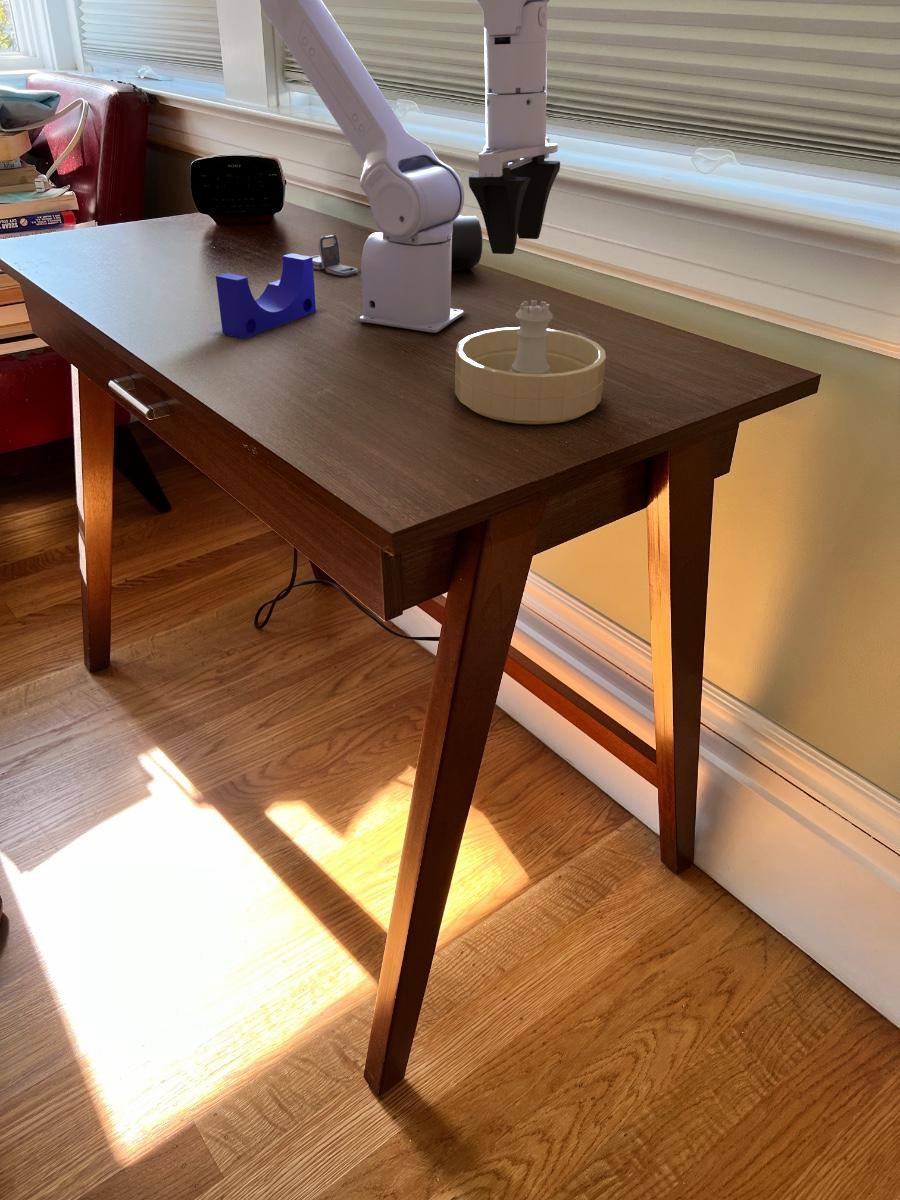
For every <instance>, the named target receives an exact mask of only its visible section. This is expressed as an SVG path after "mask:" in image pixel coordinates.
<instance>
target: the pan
mask: <svg viewBox="0 0 900 1200" xmlns="http://www.w3.org/2000/svg"><path fill="white" fill-rule="evenodd" d="M519 329H520V326H518V327H516V326H515V327H500V328H499V327H498V328H494V329H487V330H482V331H479V332H476V333H473V334H469V335H467V336H465V337H464V338H462V339H461V340H460V341H459V342H457V344H456V347H455V360H454V361H455V363H454V365H455V366H454V395H455V396H456V398H457V399H458V401H459V403H461V404H463V405H464V406H465V407H467V408H468V409H470V410H471V411H473V412H474V413H476V414H479V415H481V416H483V417H485V418H489V419H492V420H495V421H500V422H506V423H512V424H521V425H548V424H549V425H550V424H557V423H565V422H569V421H572V420H575V419H578V418H580V417H583V416H584V415H586V414H587V413H590V412H592V411H593V410H595V409H596V408H597V407H598V405H599V404H600V403H601V401H602V398H603V397H602V396H603V387H604V378H605V370H606V361H607V355H606V350H605V349H604V348H603V347H602V346H601V345H600V344H599V343H598V342H596V341H594V340H592V339H589V338H587V337H586V336H583V335H581V334H580V335H579V334H576V333H572V332H569V331H565V330H558V329H551V328H547V331H548V332H549V335H548V336H547V338H546V355H547V364H548V365H549V367H550V369H549V370H550V371H551V373H552V374H524V373H513V372H509V371H510V370H511V369H512V364H513V363H514V361H515V359H516V355H517V349H518V344H519V335H518V334H517V331H518V330H519Z"/></svg>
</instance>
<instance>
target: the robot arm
mask: <svg viewBox="0 0 900 1200" xmlns="http://www.w3.org/2000/svg"><path fill="white" fill-rule="evenodd" d="M259 1H260V5H261V7H262V10H263V11H264V14H265V15H266V17H267V19H268V20H269V22H270V24H271V25H272V27H273V28H274V29H275V31H276V33H277V34H278V35H279V37H280V39H281V40H282V42H283V43H284V44H285V46H286V48H287V50H288V51H289V52H290V54H291V55H292V56H293V58H294V60H295V61H296V63H297V64H298V67H300V69H301V70H302V72H303V74H304V75H305V77H306V78H307V79H308V81H309V83H310V84H311V86H312V87H313V89H314V90H315V92H316V93H317V95H318V96H319V97H320V99H321V101H322V102H323V104H324V106H325V107H326V108H327V110H328V112H329V114H330V115H331V117H333V118H334V121H335V122H336V123H337V125H338V127H339V128H340V130H341V131H342V133H343V134H344V136H345V137H346V139H347V140H348V142H349V144H350V145H351V146H352V148H353V149H354V151H355V152H356V155H358V157H359V158H360V160H361V162H362V163H363V169H362V173H361V176H360V181H359V186H360V188H361V190H362V191H363V192H364V194H365V196H366V198H367V200H368V203H369V206H370V211H371V215H372V219H373V221H374V222H375V225H376V227H377V228H378V229H379V230H380V232H373V233H371V234H370V235H368V237H367V239H366V240H365V241H364V244H363V248H362V251H361V252H362V253H361V261H360V267H361V268H360V269H361V270H360V271H361V299H362V315H361V316H360V317H359V321H360V322H362V323H369V324H374V325H381V326H386V327H393V328H398V329H399V328H401V329H406V330H412V331H419V332H425V333H435V334H436V333H438V332H440V331H442V330H443V329H445V328H446V327H447V326H449V325H450V324H452V323H453V322H455V321H456V320H458V319H459V318H461V317H462V316H463V315H464V313H465V311H464V310H463V309H458V308H451V306H452V271H451V261H452V238H451V237H452V232H453V221H454V220H455V219H456V218H457V217H458V216H459V215H461V212H462V211H463V208H464V204H465V190H464V185H463V182H462V180H461V178H460V176H459V174H458V173H457V172H456V171H455V170H454V169H453V168H452V167H451V166H450V165H447V164H446V163H444V162H443V161H441V160H440V158H438V156H437V155H436V154H435V153H434V151H433V149H432V147H430V146H429V145H427V144H426V143H424V142H423V141H421V140H419V139H418V138H416V137H415V136H413V135H411V134H410V133H409V132H407V130H406V128H405V127H404V125H403V124H402V122H401V121H400V119H399V117H398V116H397V115H396V113H395V111H394V110H393V108H392V107H391V106H390V104H389V102H388V100H387V99H386V98H385V96H384V94H383V93H382V91H381V90H380V88H379V86H378V85H377V84H376V82H375V80H374V79H373V78H372V75H371V74H370V73H369V71H368V69H367V68H366V67H365V65H364V63H363V62H362V60H361V59H360V57H359V56H358V54H357V52H356V51H355V50H354V47H353V46H352V45H351V43H350V41H349V40H348V39H347V37H346V36H345V33H344V32H343V31H342V29H341V27H340V26H339V24H338V23H337V21H336V19H334V17H333V15H332V13H331V12H330V11H329V10H328V7H327V5H326V4H325V3H324V2H323V0H259ZM549 1H550V0H476V2H477V4H478V5H479V7H480V9H481V11H482V16H483V30H484V31H483V32H484V33H483V34H484V35H483V36H484V81H485V82H484V83H485V136H486V137H485V142H486V143H485V145H484V147H483V149H482V152H480V153H478V173H474V174H471V175H468V186H469V187H468V188H469V189H470V190H471V192H472V194H473V196H474V197H475V200H476V201H477V204H478V207H479V209H480V211H481V216H482V218H483V221H484V225H485V229H486V234H487V239H488V242H489V247H490V250H491V253H492V254H493V255H495V254H497V255H512V254H514V253H515V251H516V245H517V240H518V239H523V240H524V239H526V240H538V239H539V238H540V235H541V232H542V228H543V224H544V218H545V213H546V208H547V203H548V200H549V196H550V193H551V190H552V187H553V185H554V182H555V180H556V177H557V176H558V174H559V172H560V169H561V161H559V160H545V159H549V158H550V155H551V154H554V153H557V152H558V150H559V149H558V147H559V145H558V143H550V136H547V83H548V81H547V76H548V75H547V73H548V72H547V71H548V70H547V69H548V3H549Z"/></svg>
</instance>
